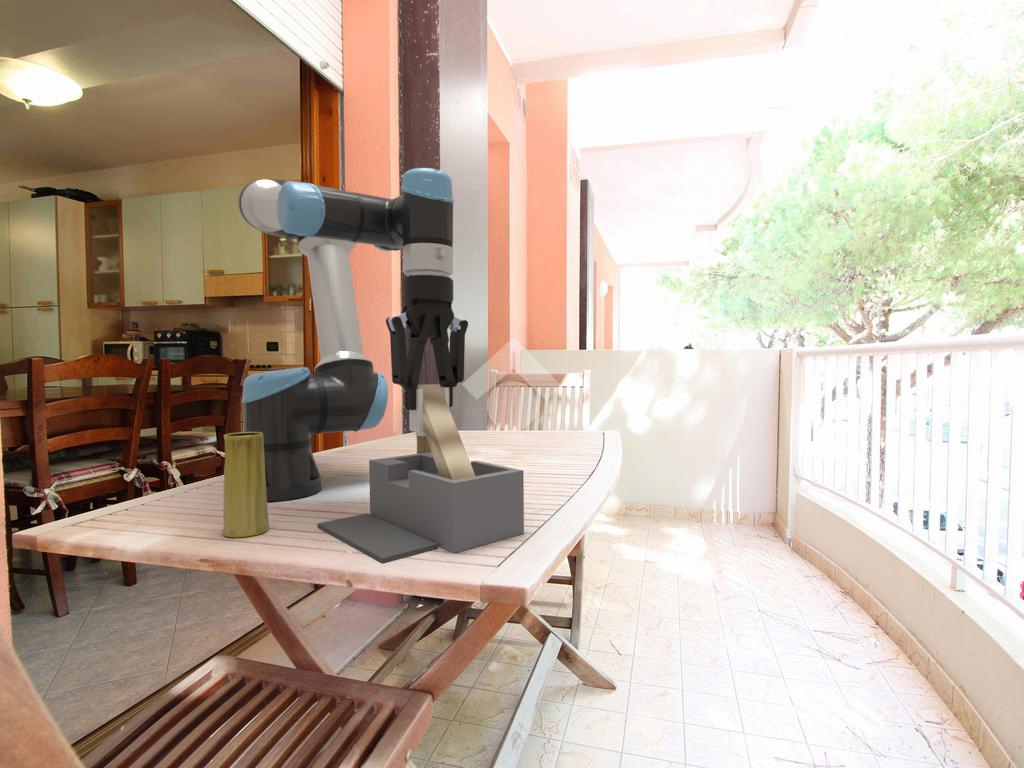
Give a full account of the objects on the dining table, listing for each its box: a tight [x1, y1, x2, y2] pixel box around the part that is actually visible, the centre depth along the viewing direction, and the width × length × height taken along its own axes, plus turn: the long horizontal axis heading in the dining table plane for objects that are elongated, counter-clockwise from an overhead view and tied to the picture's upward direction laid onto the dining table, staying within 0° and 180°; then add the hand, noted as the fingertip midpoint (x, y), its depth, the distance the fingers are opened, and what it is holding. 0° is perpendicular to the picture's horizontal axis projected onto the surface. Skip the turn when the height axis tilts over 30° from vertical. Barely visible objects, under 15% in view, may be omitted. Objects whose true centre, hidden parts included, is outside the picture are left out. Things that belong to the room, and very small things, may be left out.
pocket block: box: [368, 452, 525, 554], centre depth 83 cm, size 23×12×9 cm, turn 41°
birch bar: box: [417, 383, 475, 480], centre depth 83 cm, size 18×4×2 cm
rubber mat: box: [317, 512, 439, 564], centre depth 78 cm, size 20×8×1 cm, turn 41°
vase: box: [222, 431, 270, 539], centre depth 81 cm, size 6×6×14 cm
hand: (429, 429), depth 86 cm, fingers closed on birch bar, 4 cm apart
